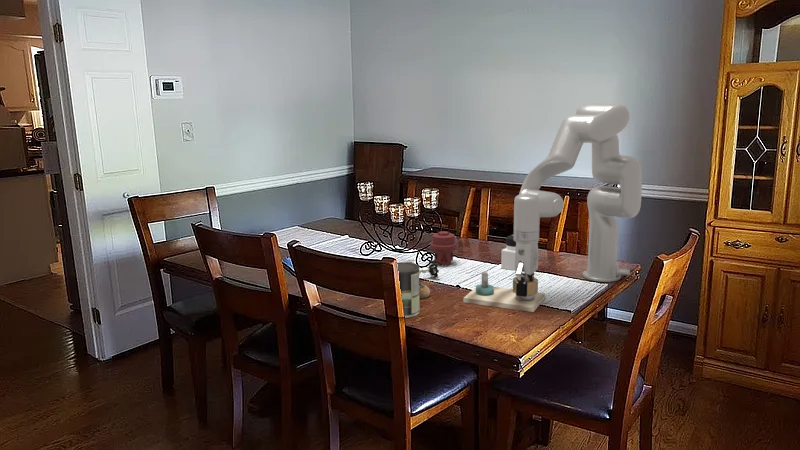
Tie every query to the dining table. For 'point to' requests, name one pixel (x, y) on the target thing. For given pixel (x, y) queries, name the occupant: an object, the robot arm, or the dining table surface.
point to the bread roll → (423, 291)
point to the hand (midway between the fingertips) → (525, 291)
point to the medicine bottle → (509, 254)
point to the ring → (528, 285)
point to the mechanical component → (443, 247)
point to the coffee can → (409, 288)
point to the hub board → (502, 297)
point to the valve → (430, 269)
